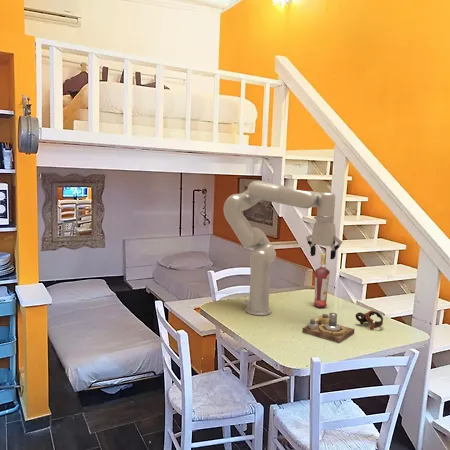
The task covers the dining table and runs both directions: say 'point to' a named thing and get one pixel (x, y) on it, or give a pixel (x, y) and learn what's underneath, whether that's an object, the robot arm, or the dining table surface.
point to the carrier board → (319, 330)
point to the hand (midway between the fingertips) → (322, 257)
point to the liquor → (321, 283)
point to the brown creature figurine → (369, 319)
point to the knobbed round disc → (332, 323)
